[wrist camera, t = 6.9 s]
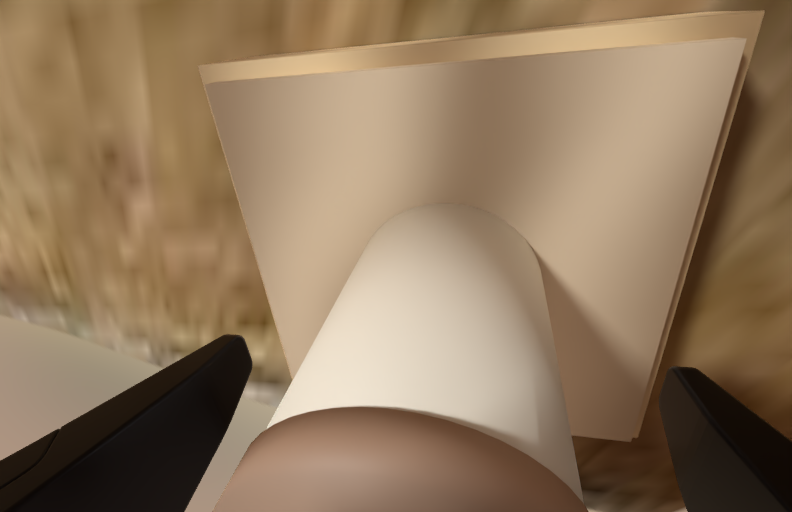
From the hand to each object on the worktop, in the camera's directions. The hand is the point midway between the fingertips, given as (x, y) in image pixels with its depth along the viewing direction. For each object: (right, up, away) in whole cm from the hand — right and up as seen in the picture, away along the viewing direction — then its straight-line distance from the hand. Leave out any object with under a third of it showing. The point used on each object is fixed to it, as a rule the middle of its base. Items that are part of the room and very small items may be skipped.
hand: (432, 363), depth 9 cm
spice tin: (+1, +1, +3) cm, 3 cm away
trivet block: (+1, +3, +5) cm, 6 cm away
